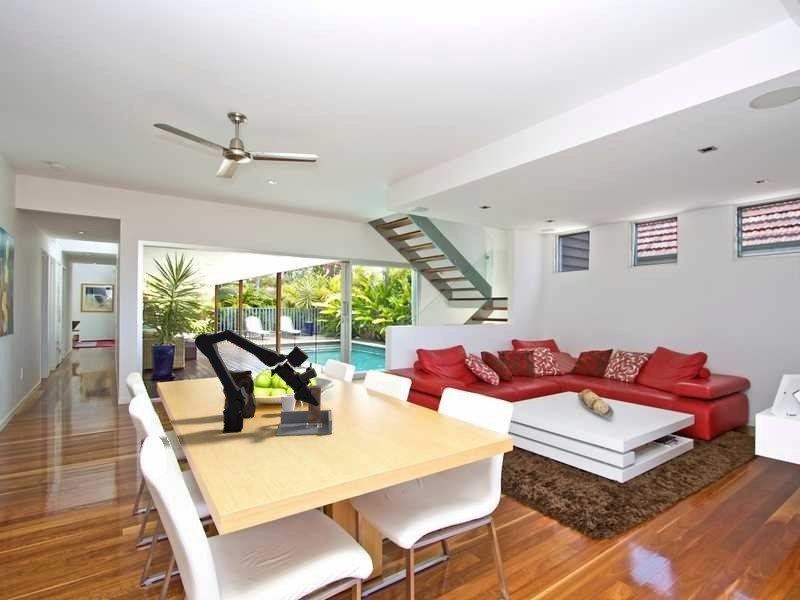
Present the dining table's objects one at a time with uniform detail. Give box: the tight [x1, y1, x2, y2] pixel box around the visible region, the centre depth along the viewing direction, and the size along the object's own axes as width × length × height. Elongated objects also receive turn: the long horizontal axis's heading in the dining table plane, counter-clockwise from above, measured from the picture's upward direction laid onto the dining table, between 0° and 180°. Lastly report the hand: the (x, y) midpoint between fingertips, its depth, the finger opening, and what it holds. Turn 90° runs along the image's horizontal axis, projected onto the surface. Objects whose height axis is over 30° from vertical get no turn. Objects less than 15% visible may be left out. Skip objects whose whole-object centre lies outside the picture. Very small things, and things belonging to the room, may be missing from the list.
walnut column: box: [307, 384, 322, 424], centre depth 166 cm, size 5×5×14 cm
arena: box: [275, 409, 333, 437], centre depth 163 cm, size 20×17×5 cm
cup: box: [280, 393, 304, 411], centre depth 185 cm, size 7×10×8 cm
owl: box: [222, 369, 257, 419], centre depth 180 cm, size 13×13×20 cm
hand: (318, 403), depth 166 cm, fingers closed on walnut column, 5 cm apart
